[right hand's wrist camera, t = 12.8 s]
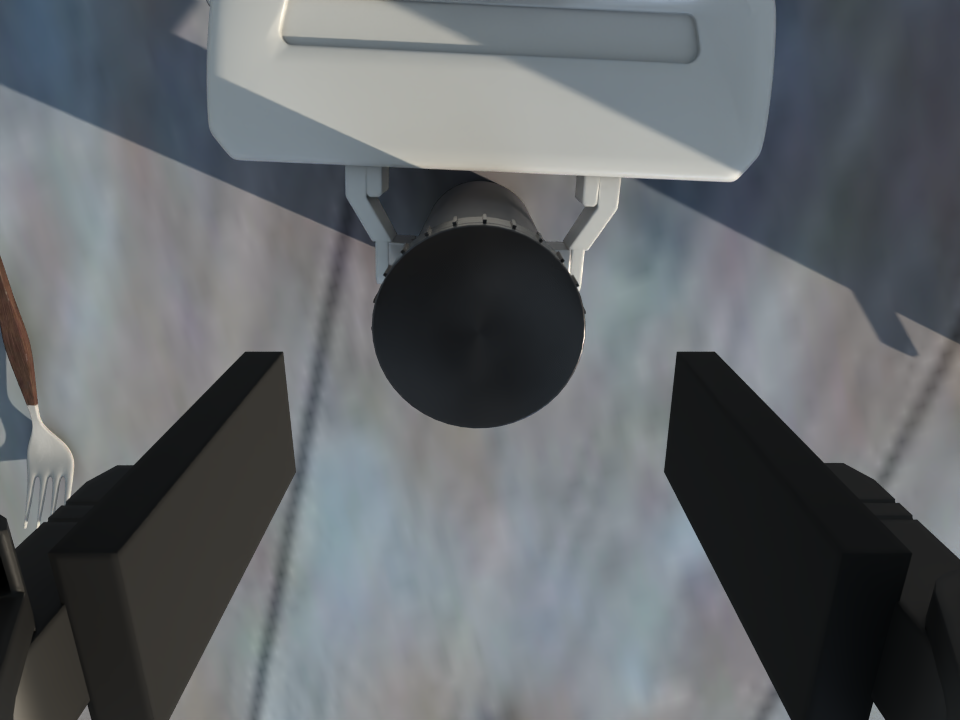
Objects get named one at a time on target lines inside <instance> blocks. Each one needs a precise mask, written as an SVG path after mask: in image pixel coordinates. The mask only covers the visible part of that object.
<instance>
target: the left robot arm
mask: <svg viewBox="0 0 960 720" xmlns="http://www.w3.org/2000/svg"><path fill="white" fill-rule="evenodd" d="M206 1H207V3H208V5H209V6H210V12H209V24H208V41H207V112H208V123H209V129H210V131H211V133H212V135H213V137H214V138H215V139H216V140H217V141H218V143H219V144H220V145H221V146H222V148H223V149H224V150H225V151H226V152H227V154H228V155H229V156H230V157H231V158H233V159H235V160H244V161H265V162H287V163H310V164H332V165H345V191H346V198H347V199H348V201H349V203H350V204H351V206H352V208H353V210H354V211H355V213H356V215H357V216H358V218H359V220H360V221H361V223H362V225H363V226H364V228H365V230H366V232H367V233H368V235H369V237H370V238H371V240H372V241H375V251H376V281H377V284H382V282H383V280H384V279H385V277H384V276H383V274H384V272H385V271H386V269H387V267H388V266H389V265H391V266H392V264H393V263H394V261H395V260H396V259H397V257H398V256H399V254H400V253H401V252H400V251H401V249H402V248H403V246H404V244H405V243H408V244H409V243H411V242H412V241H413V240H414V239H415V238H416V236H408V235H397V233H396V231H395V229H394V227H393V225H392V224H391V222H390V220H389V218H388V216H387V214H386V212H385V211H384V209H383V207H382V205H381V203H380V201H379V199H378V198H377V197H380V196H381V195H382V194H383V193H384V192H386V191H387V190H388V189H389V167H400V168H422V169H445V170H467V171H490V172H512V173H535V174H557V175H577V179H576V192H575V197H576V198H577V200H578V201H580V202H581V203H582V204H583V205H584V206H586V207H585V208H584V210H583V211H582V213H581V214H580V216H579V217H578V219H577V220H576V222H575V223H574V225H573V226H572V228H571V229H570V231H569V232H568V234H567V235H566V237H565V238H564V240H563V242H547V243H548V244H549V245H550V246H551V247H552V248H553V249H554V250H555V251H556V253H557V252H558V251H559V252H560V253H561V255H562V256H563V258H564V260H565V261H564V264H565V266H566V267H567V269H568V271H569V273H570V275H574V277H575V278H576V280H577V282H578V284H579V287H577V288H578V291H580V287H581V281H582V271H583V260H584V250H588V249H589V248H590V246H591V245H592V244H593V242H594V241H595V239H596V238H597V237H598V235H599V234H600V232H601V231H602V230H603V228H604V227H605V225H606V224H607V223H608V221H609V220H610V219H611V217H612V216H613V214H614V213H615V212H616V210H617V209H618V201H619V192H620V184H621V177H625V178H647V179H670V180H692V181H715V182H733V181H735V180H737V179H738V178H739V177H740V176H741V175H742V174H743V173H744V172H745V171H746V170H747V169H748V168H749V167H750V166H751V165H752V163H753V162H754V161H755V160H756V159H757V158H758V156H759V155H760V153H761V150H762V147H763V142H764V138H765V133H766V127H767V121H768V115H769V107H770V100H771V91H772V82H773V70H774V58H775V37H776V6H775V0H206Z"/></svg>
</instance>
